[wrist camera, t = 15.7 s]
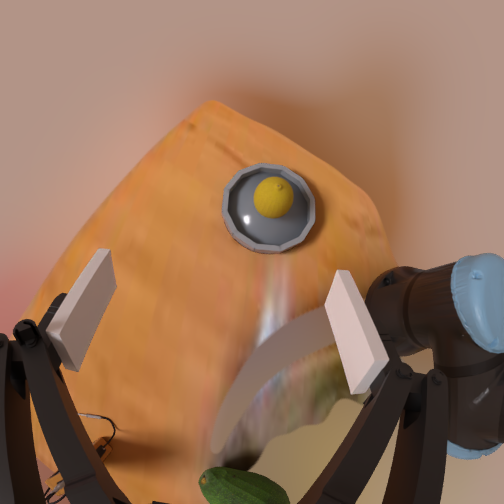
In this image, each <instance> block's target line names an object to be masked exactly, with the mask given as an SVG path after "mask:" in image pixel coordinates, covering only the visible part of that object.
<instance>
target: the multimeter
mask: <svg viewBox="0 0 504 504" xmlns="http://www.w3.org/2000/svg"><path fill="white" fill-rule="evenodd" d="M78 415H84V414H78ZM84 416H86V417H91V418H98V419H101V418H103V419H107V420H109V421H110V422H111V424H112V426H113V429H114V433H113V436H112V437H111V438H110V440H109V441H108V442H106V441H105V440H104V439H103V438H102V437H101V438H99V439H98V440H96V441H95V442H93V443H92V444H93V446H94V448H95V450H96V451H97V453H98V455H99V457H100V459H101V460H102V462H103V461H104V459H105V458H106V457H107V456H108V454H109V453H110V452H111V451H112V448H111V447H110V446H109V445H108V443H109V442H110V441H111V440H112V438H113V437H114V435H115V431H116V430H115V427H114V425H113V423H112V421H111V420H110V419H108V418H105V417H101V416H96V415H89V414H86V415H84ZM45 483H46V484H47V485H48V486H49V488H48V489H47V491H46V493H45V494H44V497H45V496H46V494H47V492H48V491H49V490H50V489H51V490H52V492H51V493H50V494H49V495H48V496H47V497H46V498H45V501H46V500H47V502H48V504H56V503H58V502H59V501H61V500H62V499H63V498H64V497H65V496H66V494H64V493H65V492H64V486H65V483H64V480H63V478H62V476H61V474H60V472H59V470H57V471H56V472H55V473H54V474H53V475H52V476H51V477H50V478H48V479H47V480H46V481H45ZM54 494H56V495H57V496H60V495H62V494H64V495H63V497H61V498H60V499H59V500H57V501H55V502H53V503H49V499H50V498H51V497H52V496H53V495H54Z"/></svg>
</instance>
